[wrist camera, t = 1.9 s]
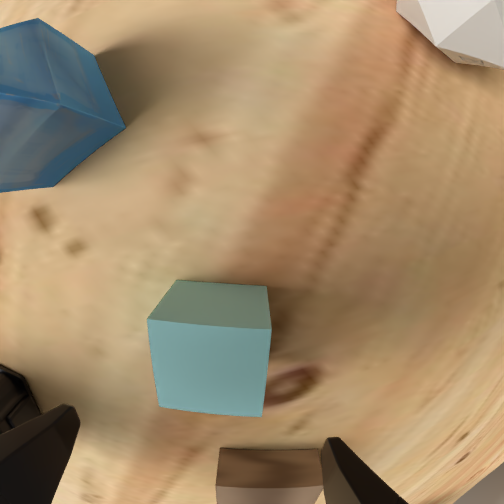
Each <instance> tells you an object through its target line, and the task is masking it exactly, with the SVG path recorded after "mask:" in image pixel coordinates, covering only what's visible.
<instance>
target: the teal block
mask: <svg viewBox="0 0 504 504" xmlns="http://www.w3.org/2000/svg"><path fill="white" fill-rule="evenodd" d="M147 324H148V334H149V343H150V351H151V358H152V365H153V372H154V379H155V385H156V391H157V397H158V402H159V407H165V408H171V409H177V410H184V411H192V412H200V413H209V414H220V415H233V416H250V417H262V411H263V403H264V395H265V386H266V378H267V369H268V360H269V351H270V342H271V332H272V327H271V319H270V310H269V302H268V293H267V286H257V285H240V284H225V283H211V282H197V281H184V280H176V281H175V282H174V284H173V285H172V286H171V288H170V289H169V290H168V292H167V293H166V294H165V296H164V297H163V298H162V300H161V301H160V302H159V304H158V305H157V306H156V308H155V309H154V310H153V312H152V313H151V314H150V316H149V317H148V318H147Z"/></svg>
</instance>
